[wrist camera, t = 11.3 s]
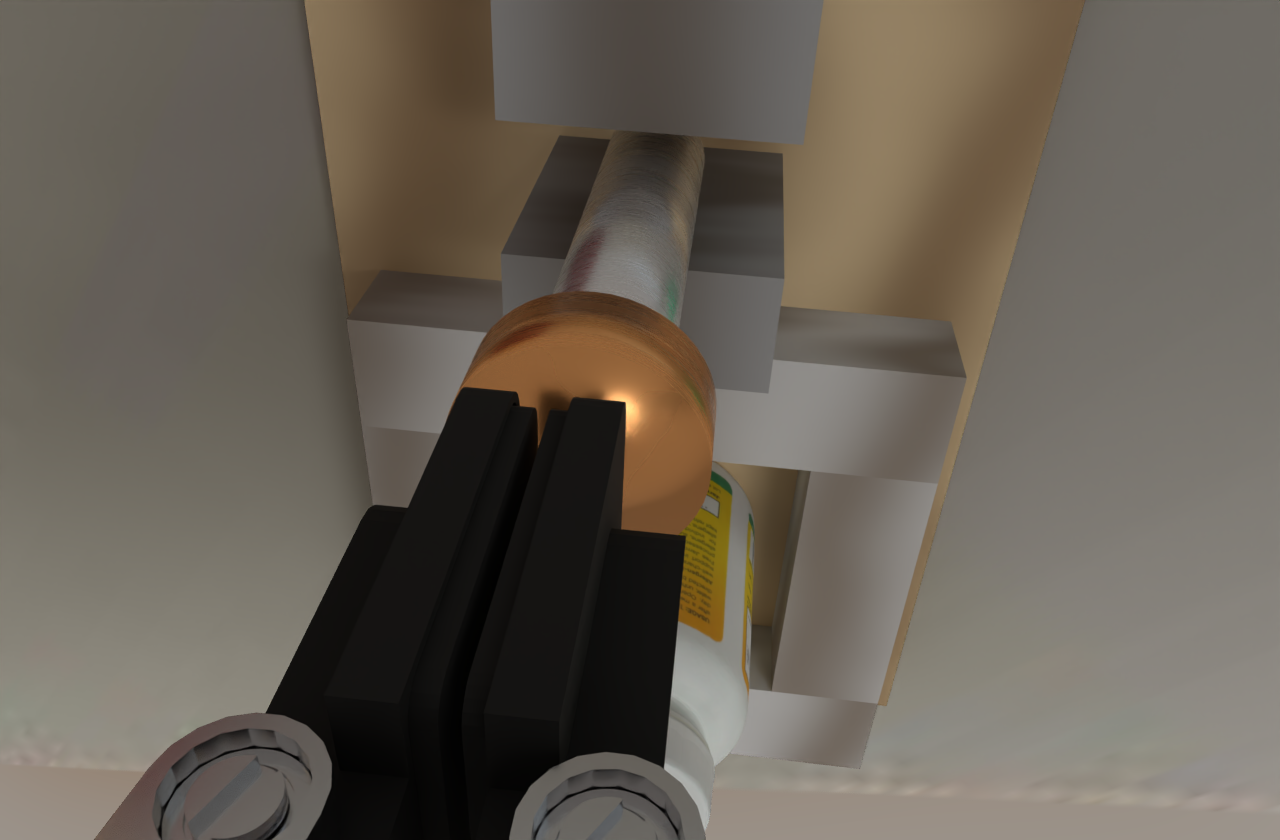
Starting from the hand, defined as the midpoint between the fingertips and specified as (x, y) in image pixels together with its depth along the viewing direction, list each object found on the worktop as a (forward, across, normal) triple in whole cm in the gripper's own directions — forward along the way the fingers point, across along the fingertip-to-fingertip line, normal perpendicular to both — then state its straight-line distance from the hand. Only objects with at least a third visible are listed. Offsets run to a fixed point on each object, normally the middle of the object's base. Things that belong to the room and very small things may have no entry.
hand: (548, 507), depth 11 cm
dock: (+15, 0, +7) cm, 17 cm away
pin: (+10, 0, 0) cm, 10 cm away
